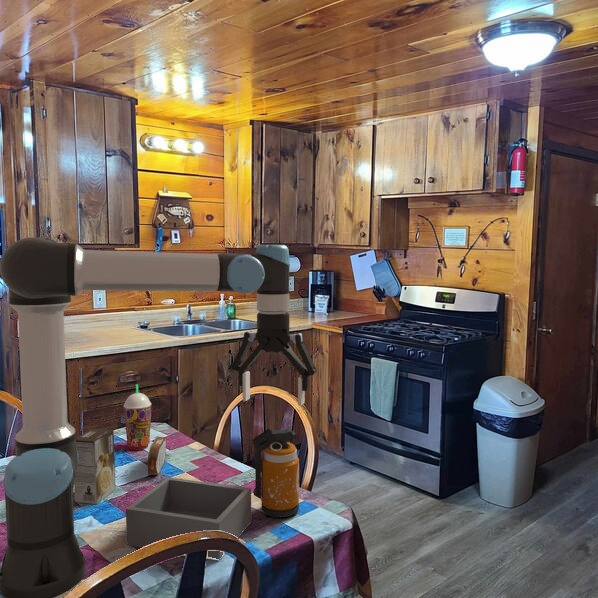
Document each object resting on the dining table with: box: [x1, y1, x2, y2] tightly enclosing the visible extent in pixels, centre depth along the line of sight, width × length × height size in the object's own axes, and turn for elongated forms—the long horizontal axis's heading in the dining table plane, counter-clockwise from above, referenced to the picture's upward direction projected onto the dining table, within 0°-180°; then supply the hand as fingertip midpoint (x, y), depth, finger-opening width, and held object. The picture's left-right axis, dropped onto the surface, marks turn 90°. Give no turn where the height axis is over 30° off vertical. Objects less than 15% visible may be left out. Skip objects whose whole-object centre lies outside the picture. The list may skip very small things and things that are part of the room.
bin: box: [125, 477, 252, 561], centre depth 129 cm, size 17×21×8 cm
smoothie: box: [123, 383, 152, 451], centre depth 182 cm, size 8×8×20 cm
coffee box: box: [73, 428, 117, 505], centre depth 147 cm, size 9×6×16 cm
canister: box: [251, 428, 300, 518], centre depth 138 cm, size 9×11×20 cm
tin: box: [146, 436, 168, 476], centre depth 165 cm, size 15×3×8 cm, turn 2°
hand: (273, 402), depth 137 cm, fingers open, 13 cm apart
